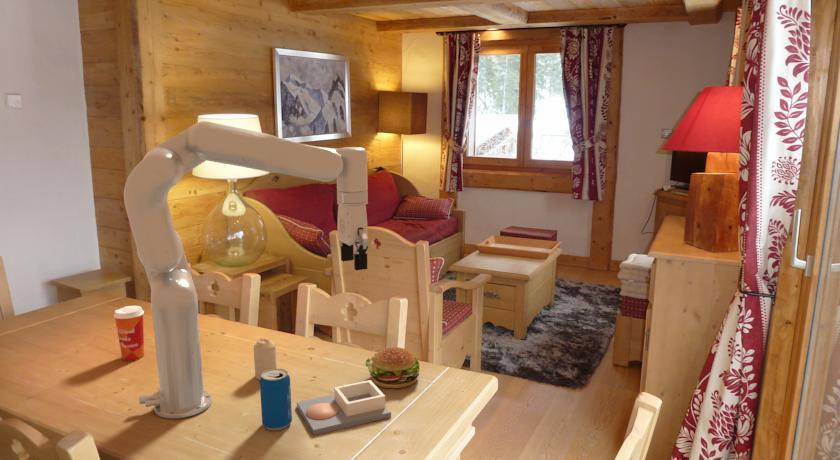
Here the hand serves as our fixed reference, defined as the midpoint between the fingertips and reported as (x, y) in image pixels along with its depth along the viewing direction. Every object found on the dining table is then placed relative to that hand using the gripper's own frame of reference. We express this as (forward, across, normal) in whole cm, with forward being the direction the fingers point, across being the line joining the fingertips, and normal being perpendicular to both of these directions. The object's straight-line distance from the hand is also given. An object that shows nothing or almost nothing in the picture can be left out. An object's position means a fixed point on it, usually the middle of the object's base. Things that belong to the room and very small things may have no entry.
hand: (354, 264), depth 156 cm
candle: (+30, -10, -21) cm, 38 cm away
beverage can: (+30, +16, -25) cm, 42 cm away
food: (+30, +6, +8) cm, 32 cm away
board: (+30, +17, -10) cm, 36 cm away
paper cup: (+30, -39, -52) cm, 72 cm away
